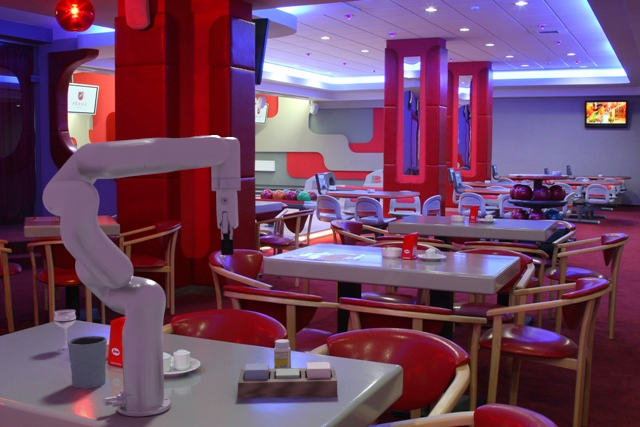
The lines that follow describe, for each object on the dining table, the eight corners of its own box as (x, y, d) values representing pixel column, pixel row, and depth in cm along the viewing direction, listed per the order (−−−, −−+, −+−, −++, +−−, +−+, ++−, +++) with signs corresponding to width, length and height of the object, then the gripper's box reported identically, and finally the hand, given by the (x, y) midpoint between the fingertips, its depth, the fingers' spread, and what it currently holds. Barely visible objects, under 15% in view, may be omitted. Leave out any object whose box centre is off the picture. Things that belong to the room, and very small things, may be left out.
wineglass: (71, 344, 238) (70, 308, 237) (80, 348, 233) (79, 311, 232) (51, 348, 233) (50, 311, 232) (60, 351, 228) (58, 314, 227)
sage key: (276, 389, 184) (275, 375, 184) (276, 381, 190) (276, 368, 190) (299, 388, 184) (299, 375, 184) (299, 381, 190) (299, 368, 190)
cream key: (307, 382, 184) (307, 368, 184) (306, 375, 190) (306, 362, 190) (330, 381, 185) (330, 368, 184) (329, 375, 191) (329, 362, 190)
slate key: (244, 383, 184) (244, 370, 184) (246, 376, 190) (245, 363, 190) (268, 383, 184) (268, 369, 184) (268, 376, 190) (268, 363, 190)
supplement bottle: (282, 366, 209) (281, 338, 209) (294, 369, 206) (294, 340, 206) (270, 370, 206) (270, 341, 205) (283, 373, 203) (282, 343, 202)
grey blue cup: (81, 391, 187) (79, 346, 187) (61, 384, 194) (60, 340, 193) (115, 383, 195) (114, 339, 194) (95, 375, 202) (94, 333, 201)
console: (238, 398, 181) (237, 382, 181) (241, 383, 193) (241, 369, 193) (337, 396, 182) (337, 380, 182) (334, 381, 194) (334, 367, 194)
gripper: (238, 185, 181) (239, 258, 182) (242, 184, 196) (243, 251, 197) (208, 185, 180) (209, 258, 182) (214, 184, 195) (215, 251, 197)
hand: (227, 254), depth 189 cm, fingers closed
